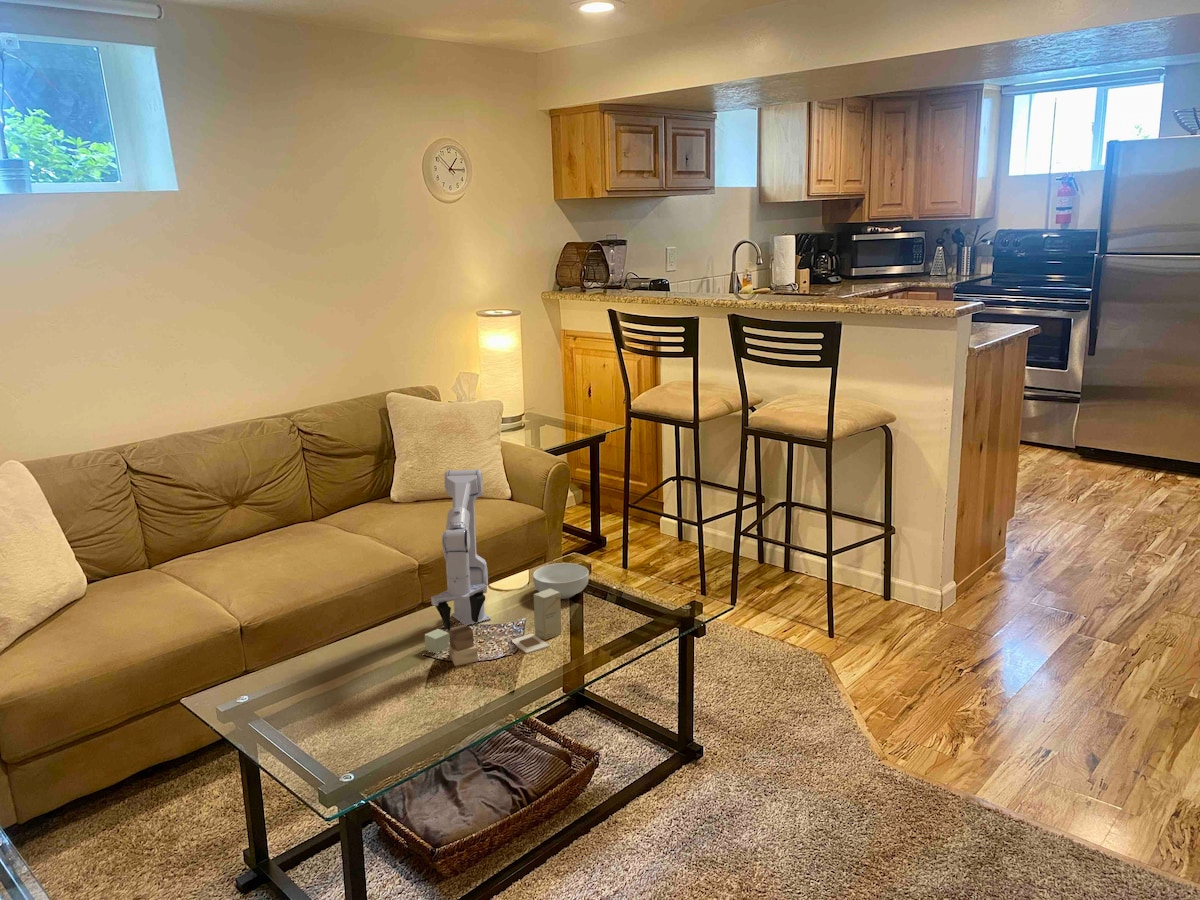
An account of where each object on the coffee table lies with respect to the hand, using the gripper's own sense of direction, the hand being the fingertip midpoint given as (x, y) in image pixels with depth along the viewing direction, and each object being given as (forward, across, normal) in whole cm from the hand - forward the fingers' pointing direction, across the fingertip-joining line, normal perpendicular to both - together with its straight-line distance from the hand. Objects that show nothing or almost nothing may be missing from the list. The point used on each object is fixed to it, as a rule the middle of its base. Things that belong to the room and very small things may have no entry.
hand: (461, 624), depth 226 cm
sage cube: (+10, -3, +9) cm, 13 cm away
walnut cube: (+6, 0, 0) cm, 6 cm away
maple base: (+10, 0, 0) cm, 10 cm away
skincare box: (+10, +25, -1) cm, 27 cm away
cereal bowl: (+10, +43, +21) cm, 49 cm away
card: (+9, +18, -3) cm, 21 cm away
